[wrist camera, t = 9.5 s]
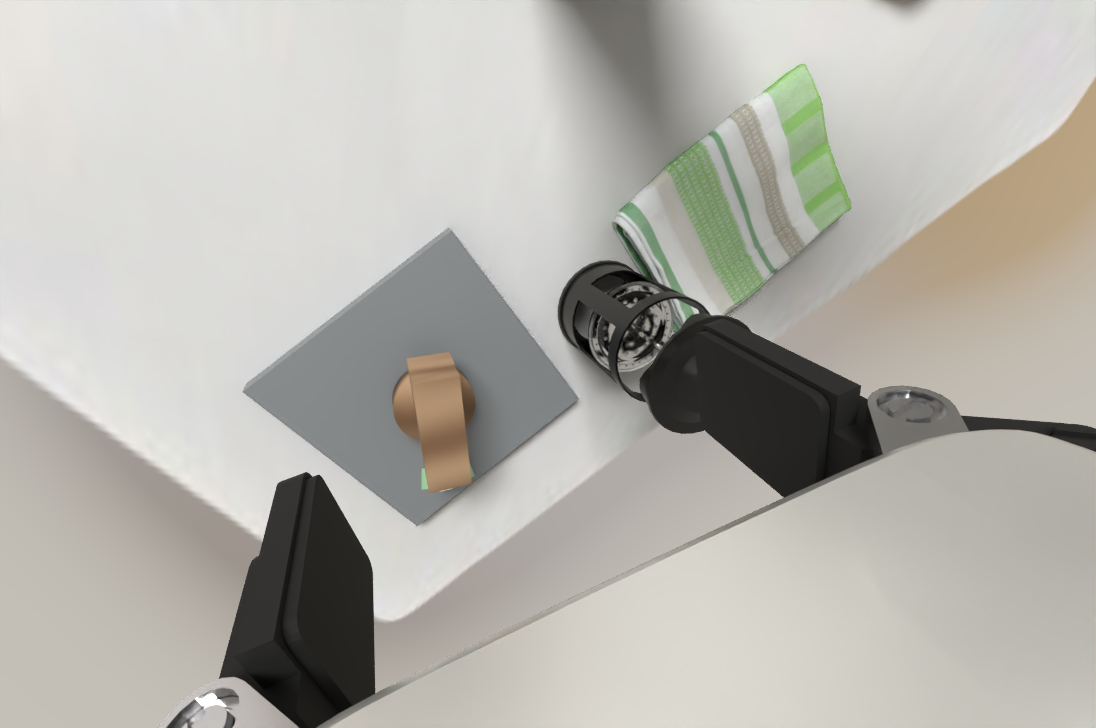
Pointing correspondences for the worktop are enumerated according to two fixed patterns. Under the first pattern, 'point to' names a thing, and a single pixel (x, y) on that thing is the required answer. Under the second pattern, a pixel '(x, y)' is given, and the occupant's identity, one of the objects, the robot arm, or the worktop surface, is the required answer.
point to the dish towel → (738, 201)
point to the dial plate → (380, 360)
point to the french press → (640, 339)
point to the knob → (437, 417)
